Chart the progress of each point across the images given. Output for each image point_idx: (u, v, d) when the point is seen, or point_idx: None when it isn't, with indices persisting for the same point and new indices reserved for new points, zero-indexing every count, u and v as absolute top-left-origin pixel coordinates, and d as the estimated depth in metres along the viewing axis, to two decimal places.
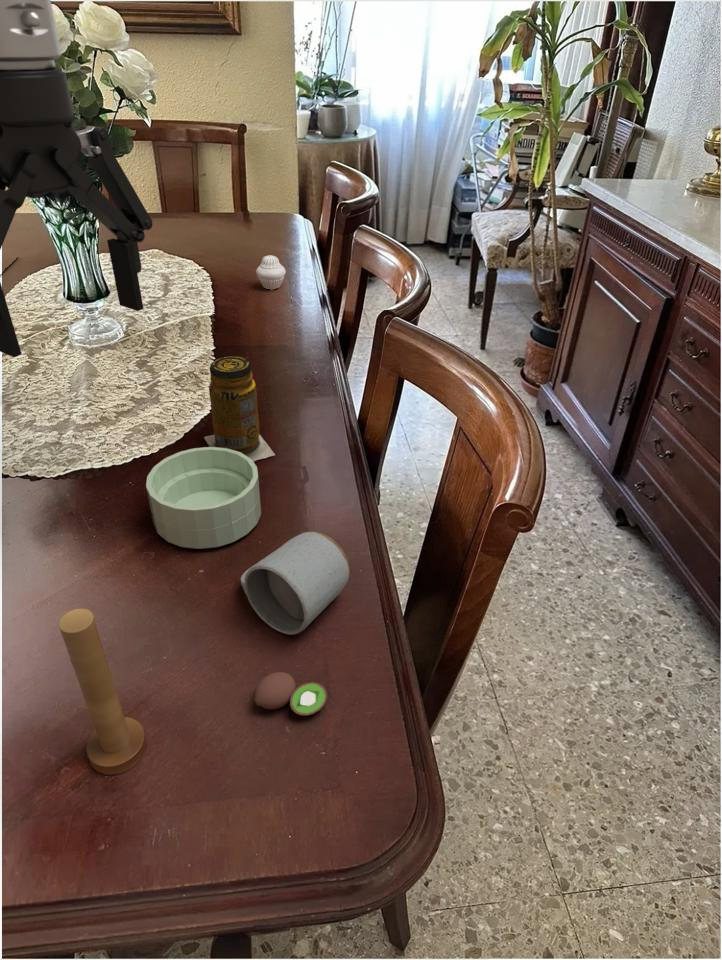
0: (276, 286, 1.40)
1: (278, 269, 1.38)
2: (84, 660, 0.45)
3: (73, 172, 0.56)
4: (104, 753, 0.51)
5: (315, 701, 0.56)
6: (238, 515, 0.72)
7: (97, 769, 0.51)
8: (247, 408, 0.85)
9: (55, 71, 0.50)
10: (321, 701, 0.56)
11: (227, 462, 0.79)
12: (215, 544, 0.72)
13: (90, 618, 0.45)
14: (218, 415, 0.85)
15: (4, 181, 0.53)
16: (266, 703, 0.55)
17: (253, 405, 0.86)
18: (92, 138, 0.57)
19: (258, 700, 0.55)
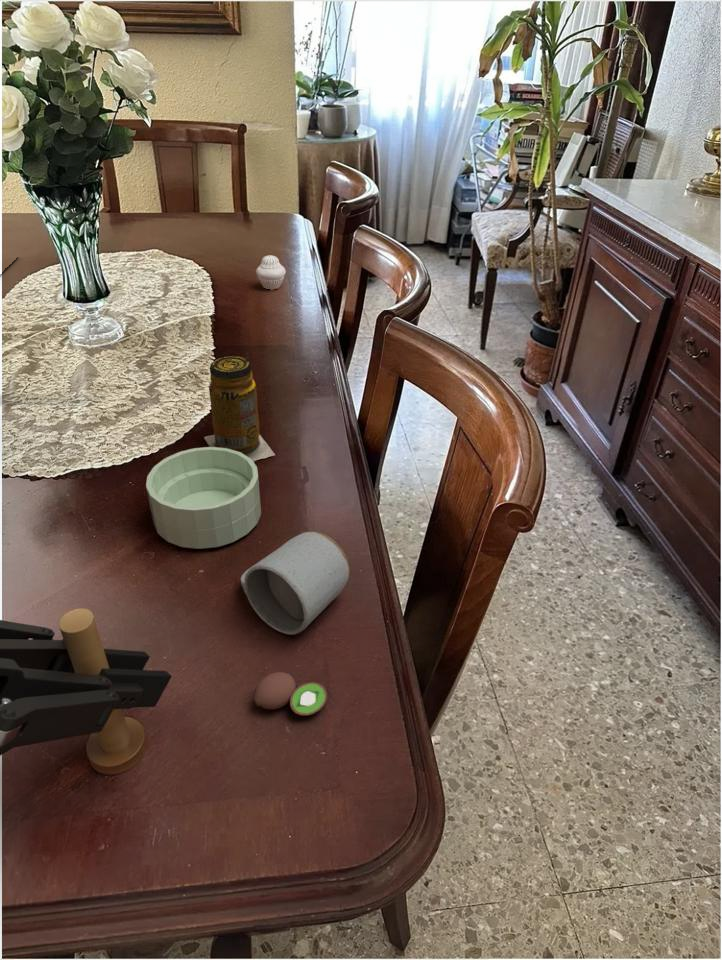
0: (276, 286, 1.40)
1: (277, 269, 1.38)
2: (84, 660, 0.45)
3: None
4: (104, 753, 0.51)
5: (315, 701, 0.56)
6: (238, 515, 0.72)
7: (97, 769, 0.51)
8: (247, 408, 0.85)
9: None
10: (321, 701, 0.56)
11: (227, 462, 0.79)
12: (215, 544, 0.72)
13: (90, 618, 0.45)
14: (218, 415, 0.85)
15: None
16: (266, 703, 0.55)
17: (253, 405, 0.86)
18: None
19: (258, 700, 0.55)
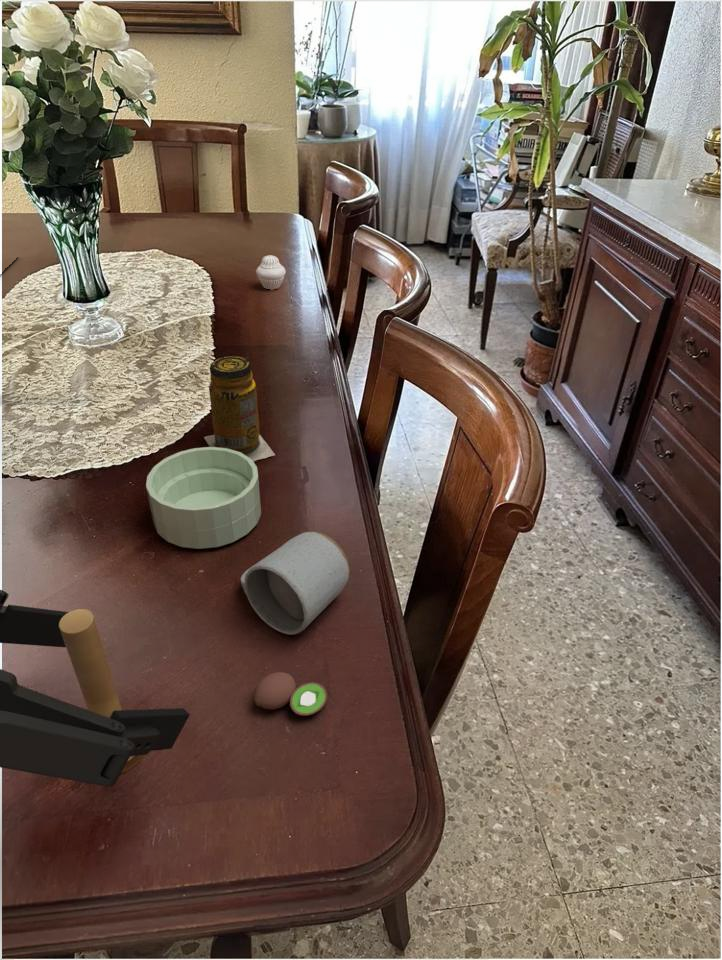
0: (276, 286, 1.40)
1: (278, 269, 1.38)
2: (85, 661, 0.45)
3: None
4: None
5: (315, 701, 0.56)
6: (238, 515, 0.72)
7: None
8: (247, 408, 0.85)
9: None
10: (321, 701, 0.56)
11: (227, 462, 0.79)
12: (215, 544, 0.72)
13: (90, 619, 0.45)
14: (218, 415, 0.85)
15: None
16: (266, 703, 0.55)
17: (253, 405, 0.86)
18: None
19: (258, 700, 0.55)
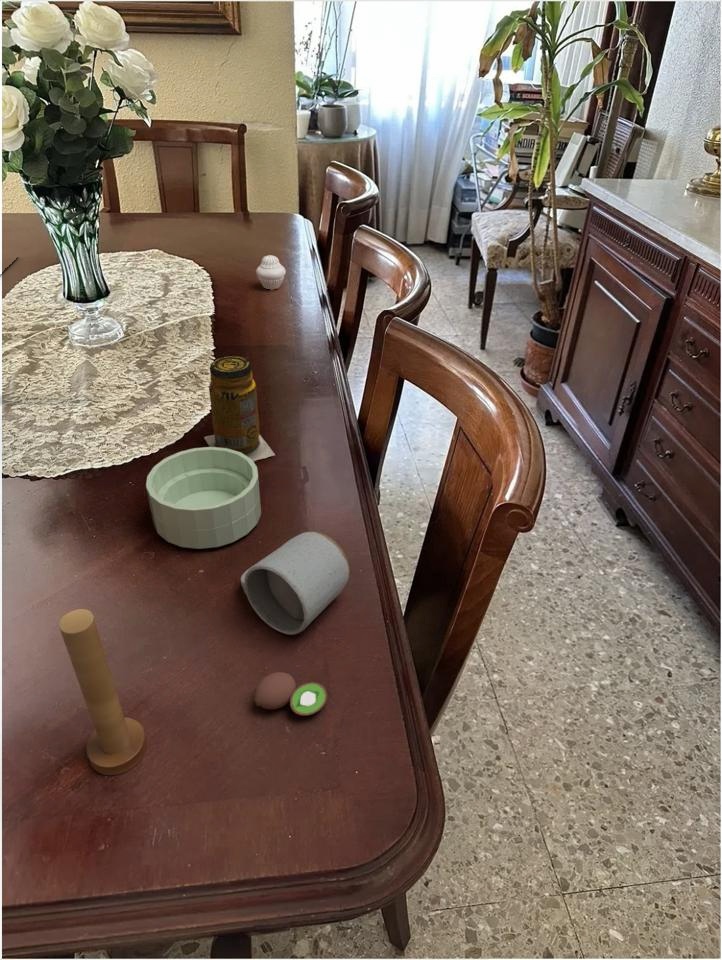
0: (276, 286, 1.40)
1: (278, 269, 1.38)
2: (85, 661, 0.45)
3: None
4: (104, 754, 0.51)
5: (315, 701, 0.56)
6: (238, 515, 0.72)
7: (97, 770, 0.51)
8: (247, 408, 0.85)
9: None
10: (321, 701, 0.56)
11: (227, 462, 0.79)
12: (215, 544, 0.72)
13: (90, 619, 0.45)
14: (218, 415, 0.85)
15: None
16: (266, 703, 0.55)
17: (253, 405, 0.86)
18: None
19: (258, 700, 0.55)
